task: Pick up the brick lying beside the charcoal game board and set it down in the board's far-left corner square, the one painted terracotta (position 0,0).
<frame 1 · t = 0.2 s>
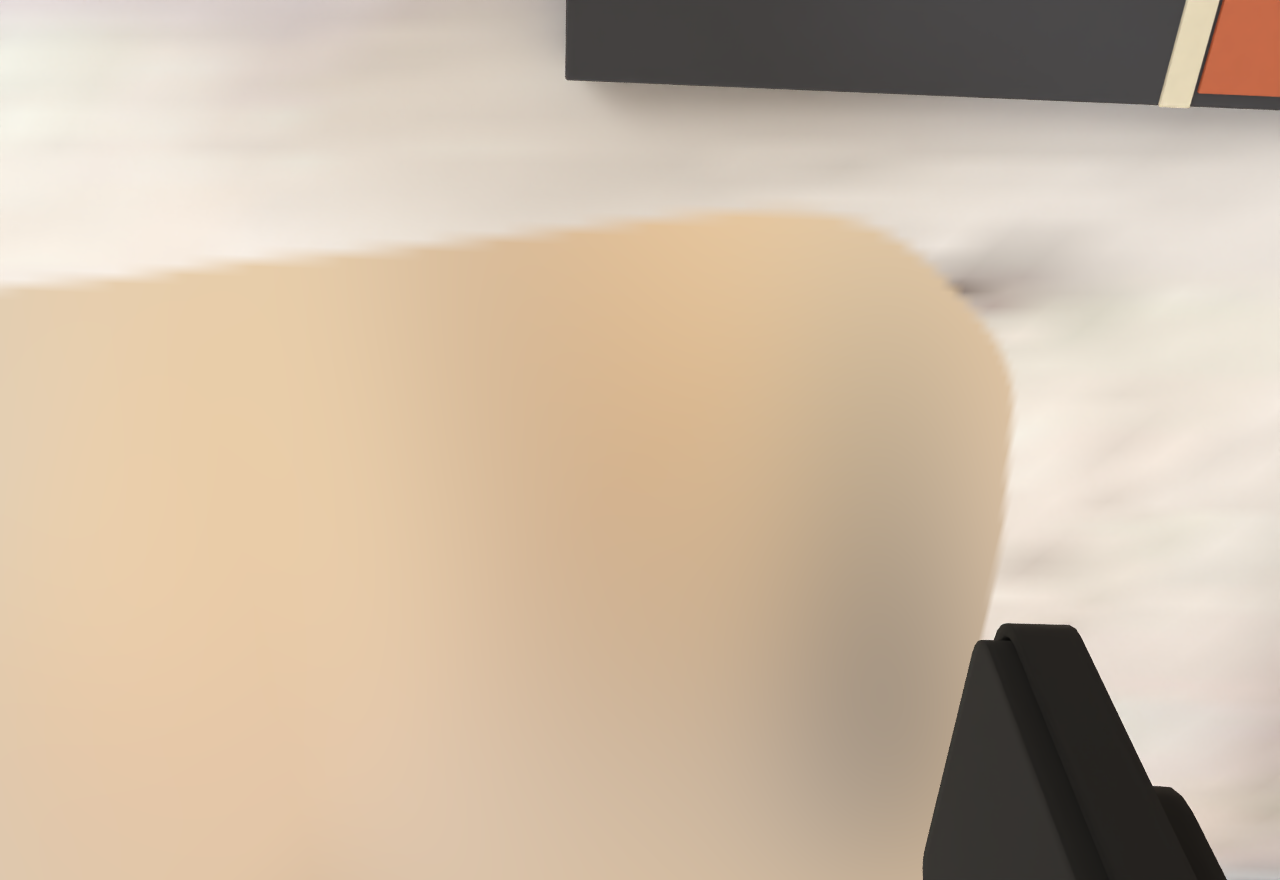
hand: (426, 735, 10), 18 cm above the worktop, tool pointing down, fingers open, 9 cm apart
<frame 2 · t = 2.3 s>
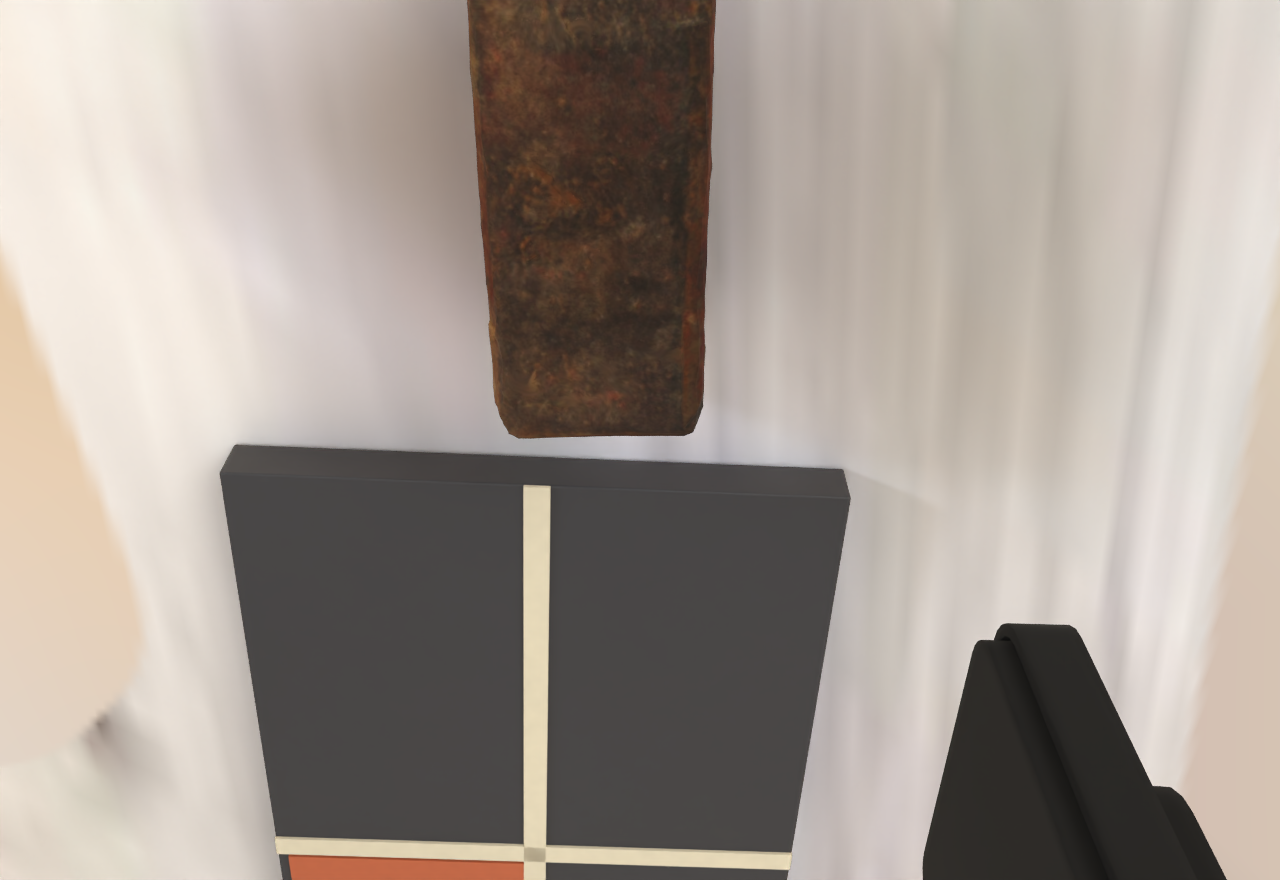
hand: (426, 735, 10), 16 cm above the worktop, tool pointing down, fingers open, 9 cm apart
board: (538, 817, 34), on the worktop
brick: (601, 85, 24), on the worktop
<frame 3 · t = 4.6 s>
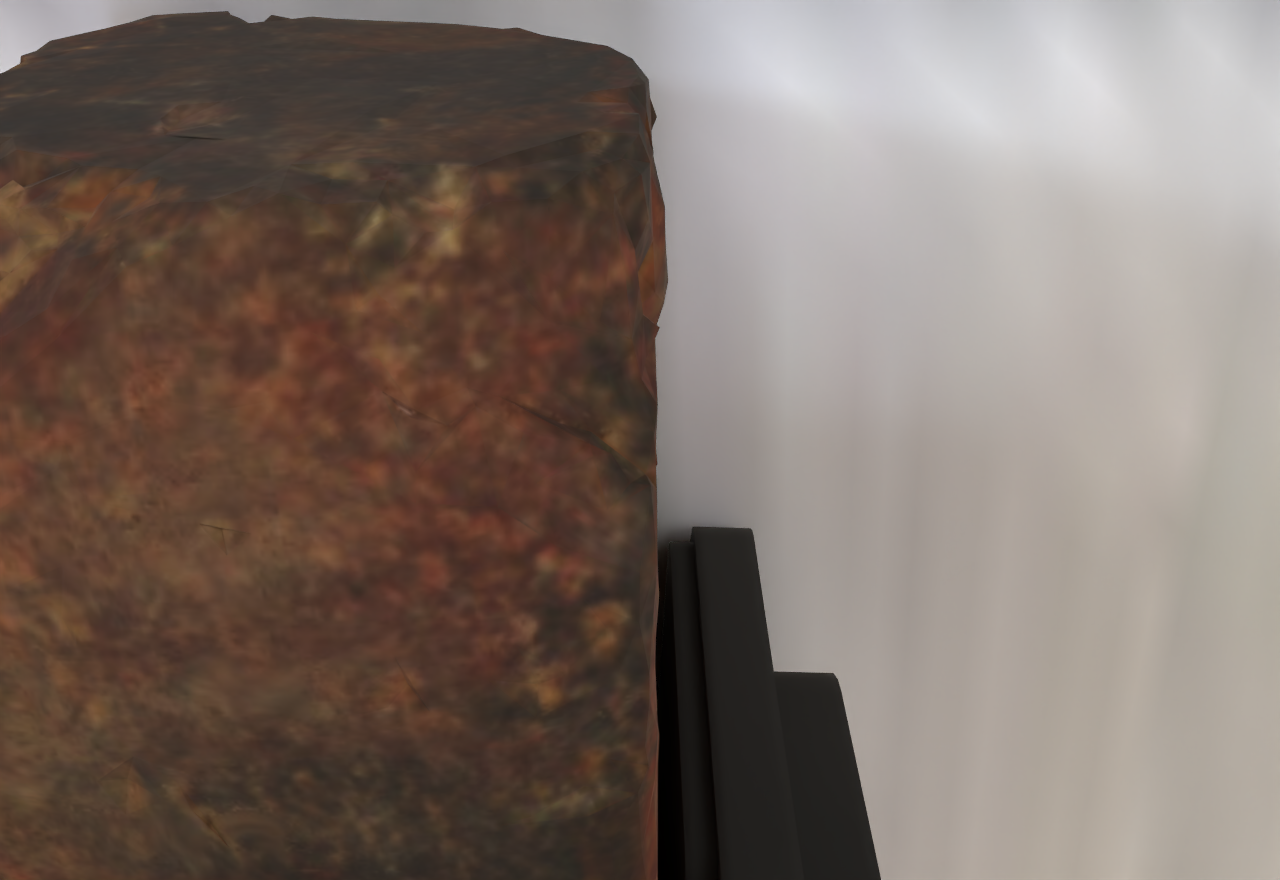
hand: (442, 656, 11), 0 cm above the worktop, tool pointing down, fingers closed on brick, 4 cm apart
brick: (441, 581, 11), on the worktop, touching gripper
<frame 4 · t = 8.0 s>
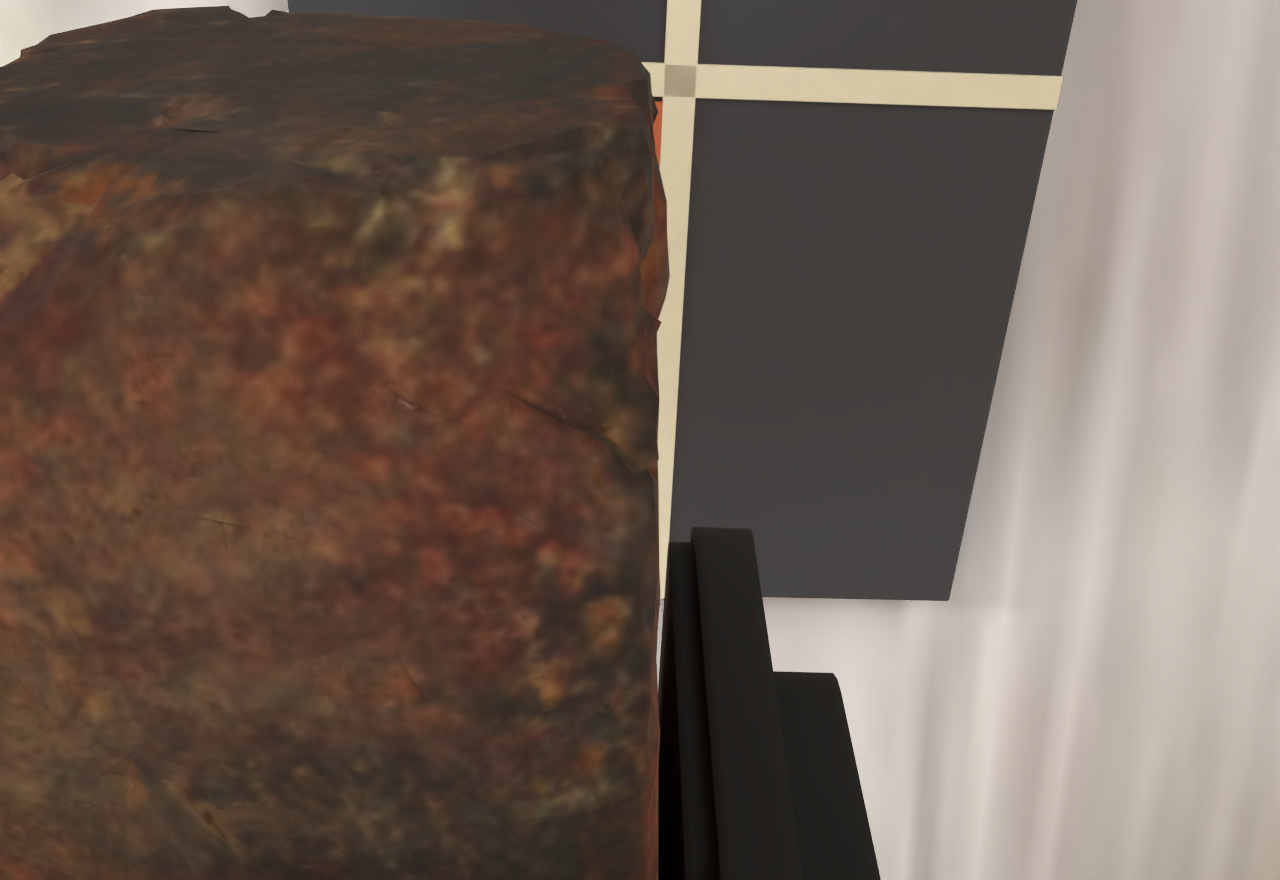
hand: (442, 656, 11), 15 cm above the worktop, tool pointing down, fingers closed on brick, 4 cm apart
board: (677, 62, 23), on the worktop
brick: (441, 578, 11), point 15 cm above the worktop, touching gripper
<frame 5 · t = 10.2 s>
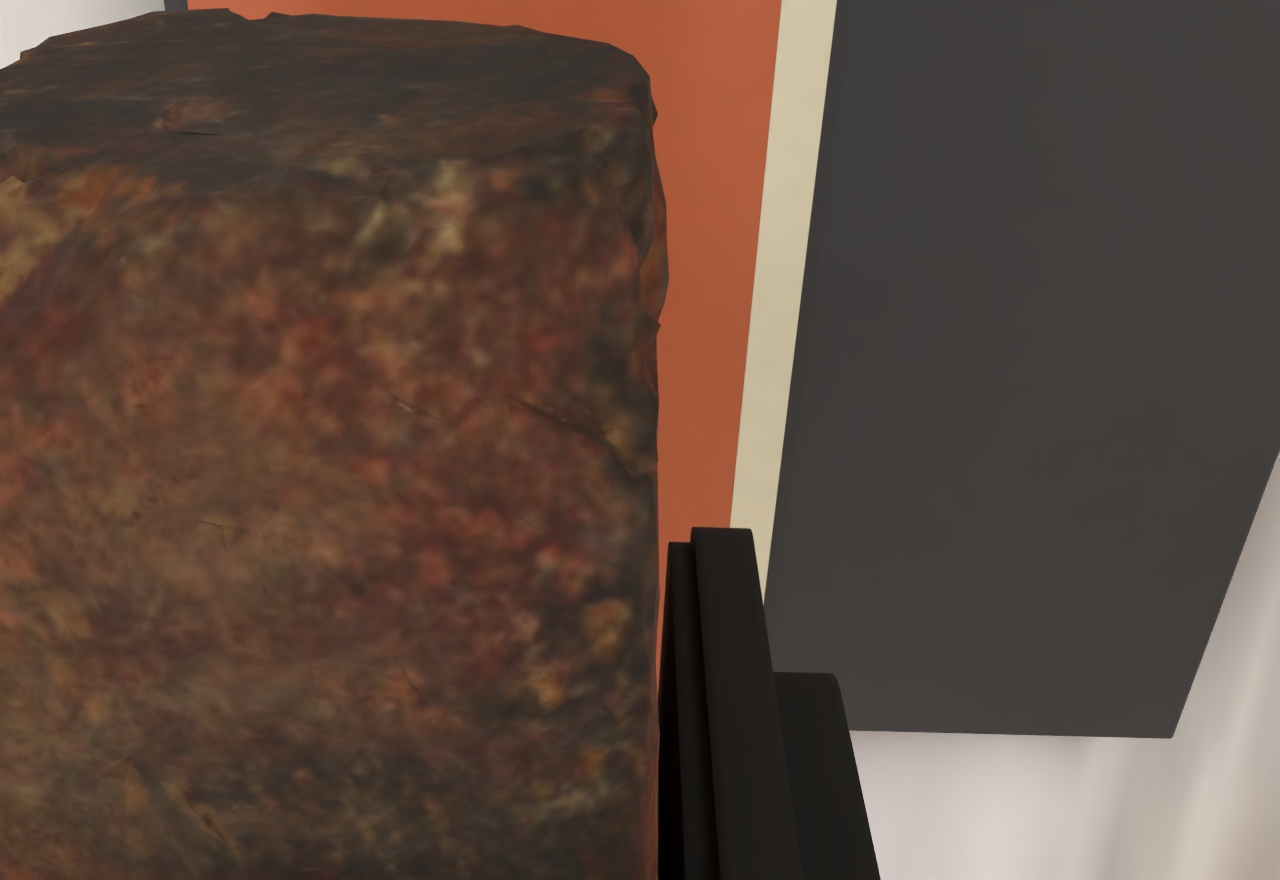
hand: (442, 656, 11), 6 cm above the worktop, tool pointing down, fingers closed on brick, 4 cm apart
brick: (441, 580, 11), point 6 cm above the worktop, touching gripper
when the fingers open (2 cm above the worktop, at t = 11.7 s): brick stays where it is, resting on board.
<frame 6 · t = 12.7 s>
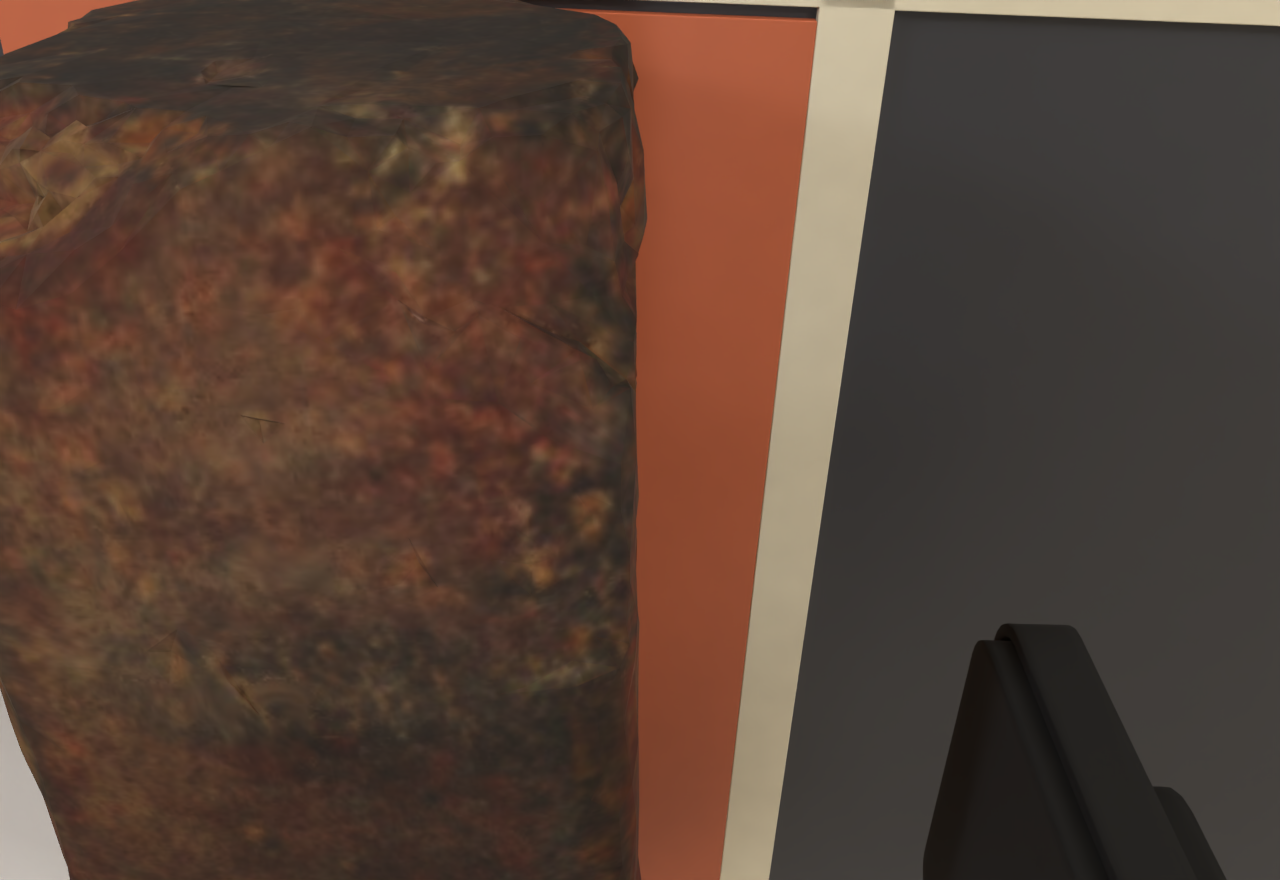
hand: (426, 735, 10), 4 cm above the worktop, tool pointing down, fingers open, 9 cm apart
brick: (441, 523, 12), point 1 cm above the worktop, touching board
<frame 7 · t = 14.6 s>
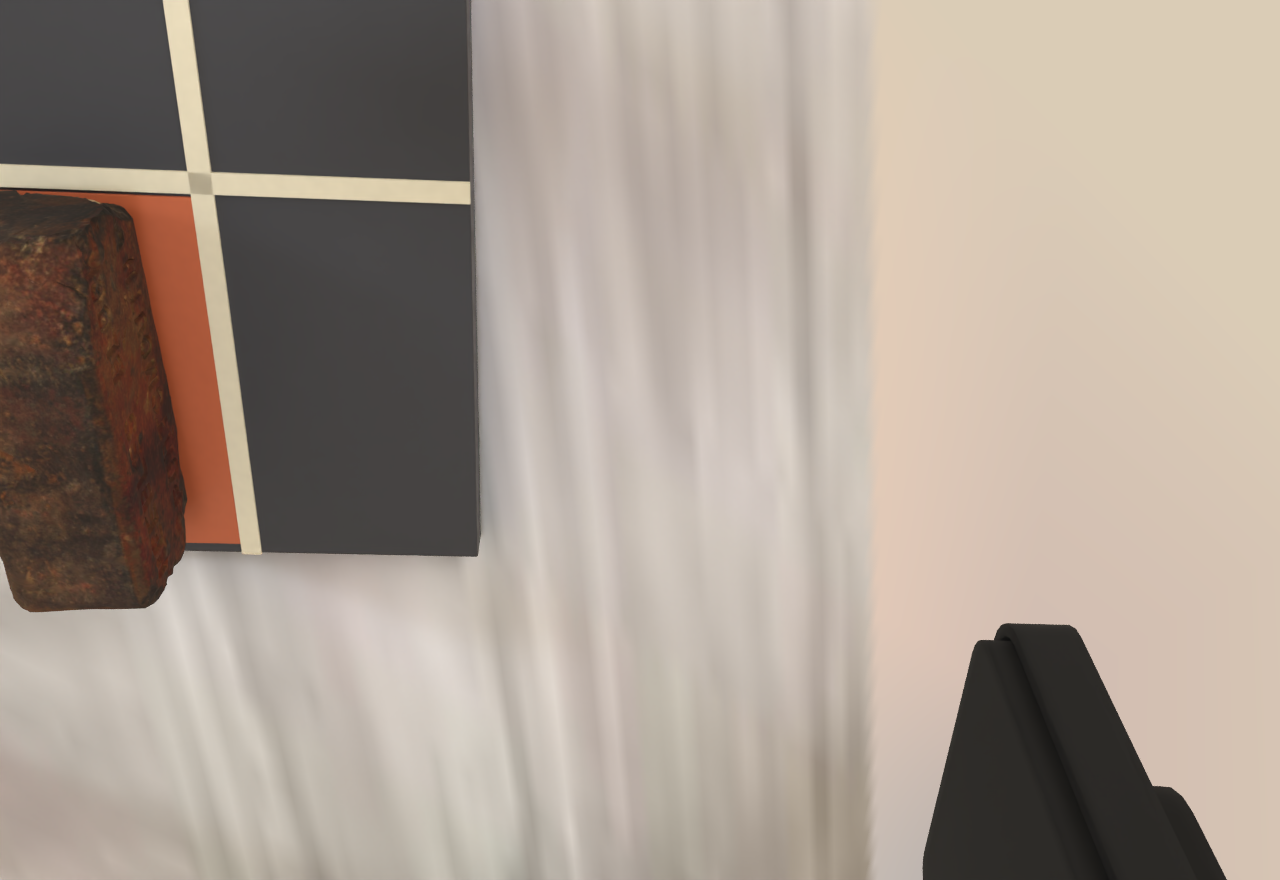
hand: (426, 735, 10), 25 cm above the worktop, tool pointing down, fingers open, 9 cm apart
board: (213, 167, 33), on the worktop
brick: (103, 361, 35), point 1 cm above the worktop, touching board
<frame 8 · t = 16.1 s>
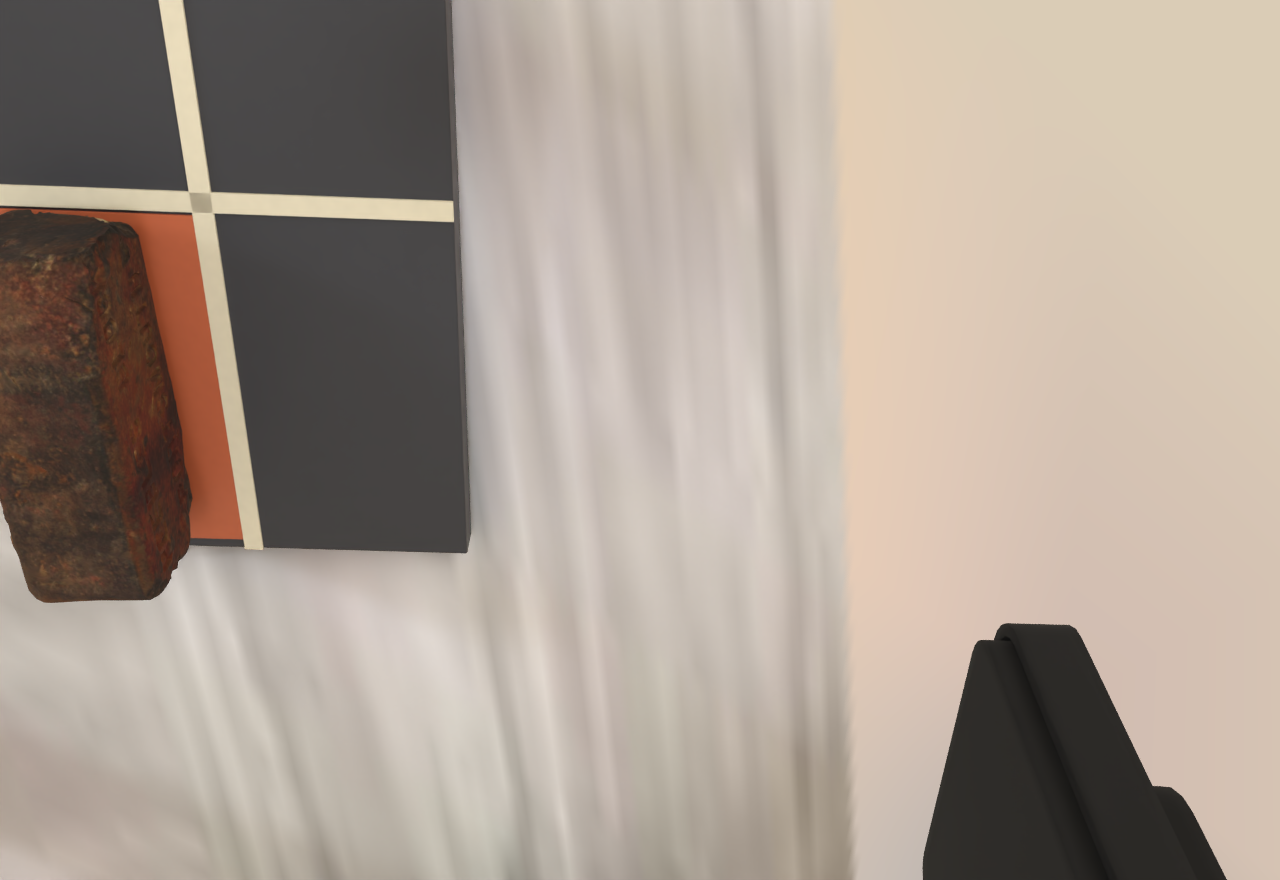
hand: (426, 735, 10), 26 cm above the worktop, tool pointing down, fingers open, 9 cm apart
board: (214, 186, 35), on the worktop
brick: (113, 368, 37), point 1 cm above the worktop, touching board
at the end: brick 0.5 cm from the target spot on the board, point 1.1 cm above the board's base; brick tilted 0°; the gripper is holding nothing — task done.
